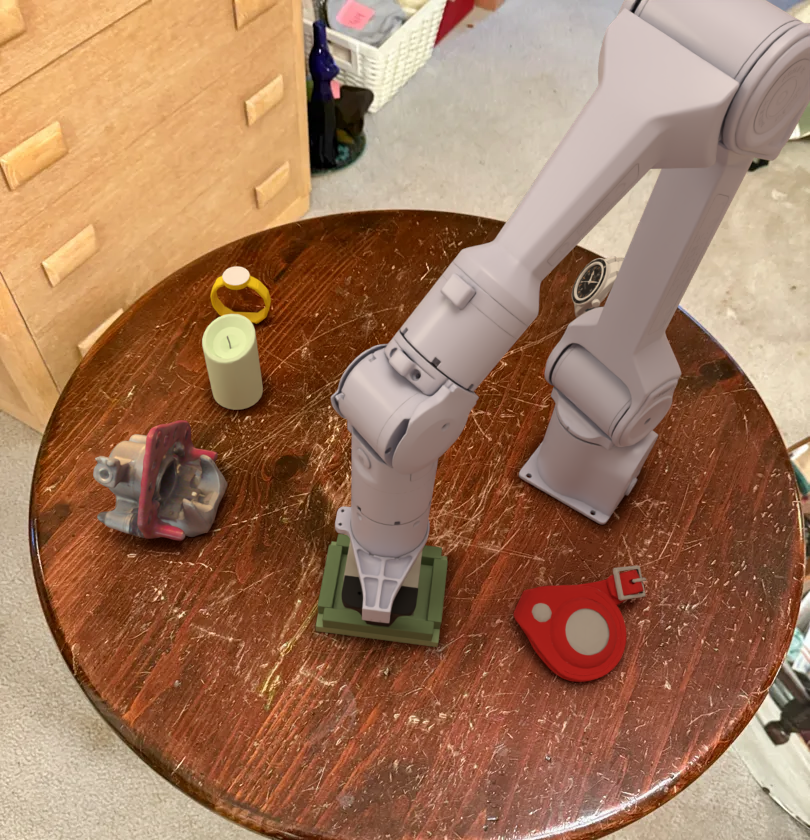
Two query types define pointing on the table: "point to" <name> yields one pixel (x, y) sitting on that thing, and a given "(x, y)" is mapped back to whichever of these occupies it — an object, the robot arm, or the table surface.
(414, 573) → the grey beige block
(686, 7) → the robot arm
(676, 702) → the table surface
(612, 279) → the watch
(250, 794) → the table surface
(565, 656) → the tracker holder
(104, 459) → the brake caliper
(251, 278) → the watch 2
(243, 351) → the candle
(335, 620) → the green tray
